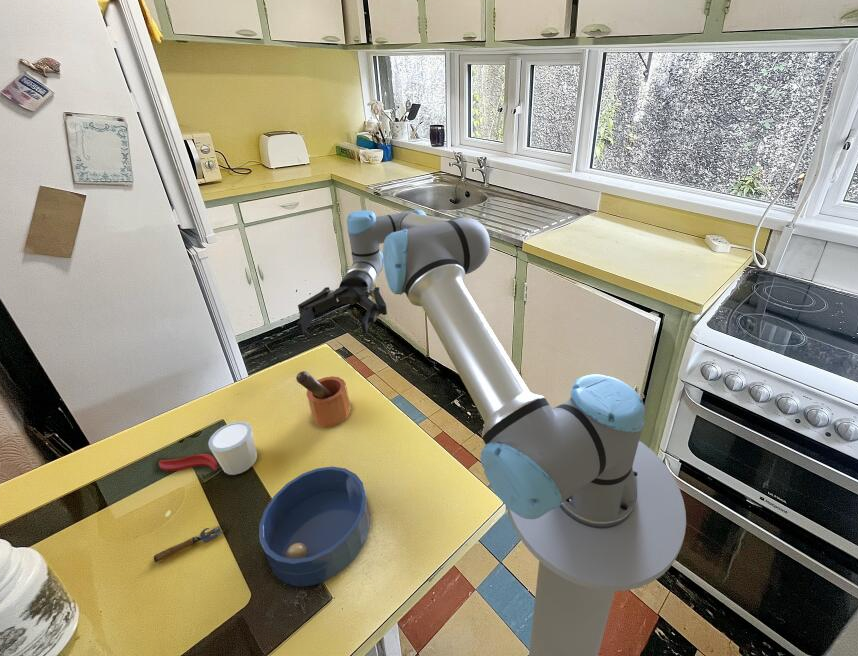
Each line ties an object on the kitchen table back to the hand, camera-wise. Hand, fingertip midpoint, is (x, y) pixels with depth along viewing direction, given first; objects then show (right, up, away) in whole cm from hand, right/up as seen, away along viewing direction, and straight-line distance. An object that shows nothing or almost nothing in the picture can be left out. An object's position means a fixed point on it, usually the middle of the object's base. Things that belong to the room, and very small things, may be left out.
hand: (331, 328), depth 89 cm
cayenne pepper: (-22, -24, -12) cm, 35 cm away
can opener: (-12, -31, -25) cm, 41 cm away
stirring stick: (0, -16, +1) cm, 16 cm away
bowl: (+7, -30, -23) cm, 38 cm away
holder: (0, -18, 0) cm, 18 cm away
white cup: (-13, -24, -11) cm, 29 cm away
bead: (+6, -29, -26) cm, 40 cm away
